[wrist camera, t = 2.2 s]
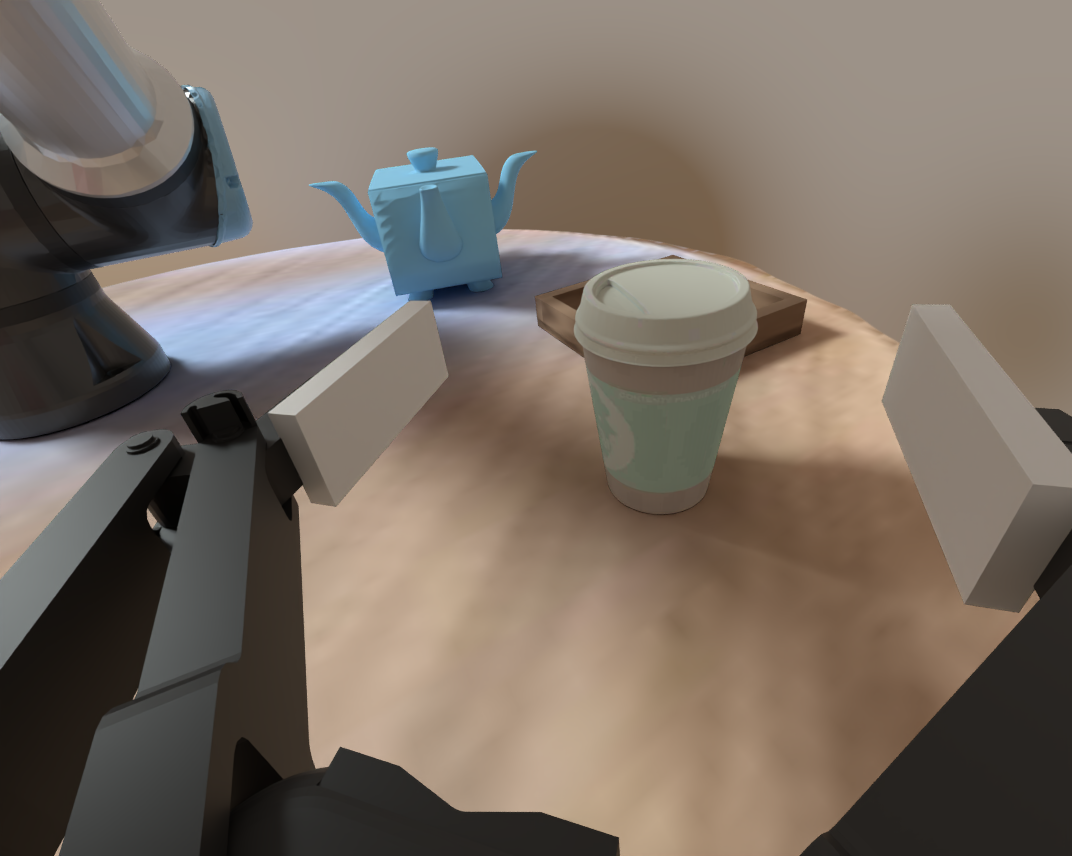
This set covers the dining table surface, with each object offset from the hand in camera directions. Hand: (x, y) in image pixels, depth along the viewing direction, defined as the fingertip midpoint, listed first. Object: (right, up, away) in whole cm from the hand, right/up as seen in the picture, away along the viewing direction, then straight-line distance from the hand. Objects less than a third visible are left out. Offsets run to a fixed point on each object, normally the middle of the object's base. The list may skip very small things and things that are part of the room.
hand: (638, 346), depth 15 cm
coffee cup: (+4, -6, +16) cm, 17 cm away
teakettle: (-13, +15, +48) cm, 52 cm away
